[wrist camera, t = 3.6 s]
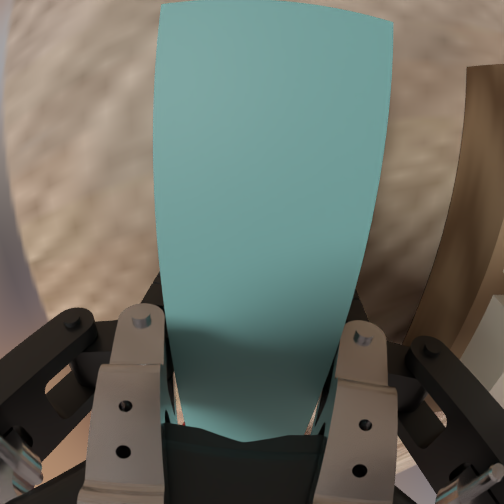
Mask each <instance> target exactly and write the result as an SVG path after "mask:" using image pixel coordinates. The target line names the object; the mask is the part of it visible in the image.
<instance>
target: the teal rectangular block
mask: <svg viewBox="0 0 504 504" xmlns="http://www.w3.org/2000/svg"><path fill="white" fill-rule="evenodd" d="M392 60H393V22H390V21H387V20H384V19H380V18H376V17H373V16H369V15H365V14H360V13H356V12H352V11H347V10H342V9H337V8H331V7H326V6H319V5H313V4H305V3H297V2H287V1H275V0H197V1H185V2H176V3H167V4H161V12H160V20H159V29H158V40H157V51H156V65H155V82H154V109H153V169H154V197H155V216H156V231H157V244H158V255H159V266H160V276H161V285H162V293H163V301H164V309H165V316H166V323H167V330H168V337H169V343H170V349H171V355H172V361H173V367H174V372H175V378H176V383H177V388H178V393H179V398H180V403H181V407H182V412H183V416H184V421H185V425H186V426H190V427H197V428H202V429H204V430H207V431H210V432H213V433H215V434H218V435H221V436H224V437H227V438H230V439H234V440H237V441H240V442H251V441H257V440H264V439H270V438H275V437H281V436H286V435H304V433H305V431H306V429H307V426H308V424H309V422H310V419H311V417H312V414H313V412H314V409H315V407H316V404H317V402H318V399H319V397H320V394H321V392H322V389H323V386H324V384H325V381H326V378H327V376H328V373H329V370H330V367H331V365H332V362H333V359H334V356H335V353H336V350H337V347H338V344H339V341H340V338H341V335H342V332H343V329H344V325H345V322H346V319H347V316H348V312H349V309H350V305H351V302H352V299H353V295H354V291H355V288H356V284H357V280H358V277H359V273H360V269H361V265H362V261H363V257H364V253H365V249H366V244H367V240H368V236H369V231H370V226H371V222H372V217H373V212H374V207H375V202H376V197H377V191H378V186H379V180H380V174H381V168H382V161H383V154H384V147H385V140H386V132H387V123H388V114H389V104H390V92H391V78H392Z"/></svg>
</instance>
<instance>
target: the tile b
mask: <svg viewBox="0 0 504 504" xmlns="http://www.w3.org/2000/svg"><path fill="white" fill-rule="evenodd" d="M460 361H461V362H462V363H463V364H464V365H465V366H466V367H467V368H468V369H469V371H470V372H471V373H472V374H473V375H474V376H475V377H476V378H477V379H478V380H479V382H480V383H481V384H482V385H483V386H484V387H485V388H486V389H487V391H488V392H489V393H490V394H491V395H492V396H493V397H494V399H495V400H496V401H497V402H498V403H499V404H500V406H501V407H502V408H503V409H504V295H493V296H492V299H491V301H490V303H489V305H488V307H487V309H486V312H485V314H484V316H483V318H482V320H481V322H480V324H479V326H478V328H477V330H476V331H475V333H474V335H473V337H472V339H471V341H470V343H469V344H468V346H467V348H466V350H465V351H464V353H463V355H462V357H461V358H460Z"/></svg>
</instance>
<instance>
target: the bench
mask: <svg viewBox="0 0 504 504" xmlns="http://www.w3.org/2000/svg"><path fill="white" fill-rule="evenodd" d="M503 270H504V64H496V65H483V66H472V67H467V87H466V105H465V117H464V127H463V136H462V144H461V151H460V157H459V164H458V169H457V175H456V180H455V185H454V190H453V195H452V199H451V204H450V208H449V212H448V216H447V220H446V224H445V228H444V232H443V235H442V239H441V242H440V246H439V249H438V252H437V255H436V259H435V262H434V265H433V268H432V271H431V274H430V277H429V280H428V282H427V285H426V288H425V291H424V293H423V296H422V299H421V301H420V304H419V306H418V309H417V311H416V314H415V316H414V319H413V321H412V323H411V326H410V328H409V330H408V333H407V335H406V337H405V339H404V342H403V344H402V345H404V346H409V347H410V345H411V343H412V341H413V340H414V339H415V338H416V337H418V336H431V337H434V338H436V339H438V340H440V341H441V342H443V343H444V344H445V345H446V346H447V347H448V348H449V349H450V350H451V351H452V352H453V353H454V355H455V356H456V357H457V358H458V359H459V360H460V358H461V357H462V355H463V353H464V351H465V350H466V348H467V346H468V344H469V343H470V341H471V339H472V337H473V335H474V333H475V331H476V330H477V328H478V326H479V324H480V322H481V320H482V318H483V316H484V314H485V312H486V309H487V307H488V305H489V303H490V301H491V299H492V296H493V295H504V273H503ZM424 400H425V402H426V403H427V404H428V406H429V407H430V408H431V409H432V411H433V412H438V411H442V410H441V409H440V407H439V406H438V405H437V404H436V402H435V401H434V400H433V398H432V397H431V396H430V395H429V394H428V395H427V396H426V398H425V399H424Z"/></svg>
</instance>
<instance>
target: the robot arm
mask: <svg viewBox="0 0 504 504" xmlns="http://www.w3.org/2000/svg"><path fill="white" fill-rule="evenodd" d="M356 292H357V291H356V289H355V291H354V295H353V299H352V302H351V305H350V309H349V312H348V316H347V319H346V322H345V325H344V329H343V332H342V335H341V338H340V341H339V344H338V347H337V350H336V353H335V356H334V359H333V362H332V365H331V367H330V370H329V373H328V376H327V378H326V381H325V384H324V386H323V389H322V392H321V394H320V397H319V401H318V406H317V410H316V414H315V419H314V423H313V427H312V431H311V434H310V435H286V436H281V437H275V438H270V439H264V440H257V441H251V442H240V441H237V440H234V439H230V438H227V437H224V436H221V435H218V434H215V433H213V432H210V431H207V430H204V429H202V428H197V427H190V426H184V425H178V424H177V411H176V395H175V377H174V367H173V361H172V355H171V349H170V343H169V337H168V330H167V323H166V316H165V309H164V301H163V293H162V285H161V276H160V272H159V273H158V275H157V277H156V278H155V280H154V281H153V284H152V285H151V286H150V288H149V290H148V291H147V293H146V295H145V297H144V298H143V300H142V302H141V303H140V304H135V305H132V306H130V307H128V308H126V309H125V310H123V311H122V313H121V314H120V315H119V318H118V320H114V321H100V322H95V320H94V317H93V314H92V313H91V312H90V311H89V310H87V309H85V308H71V309H68V310H65V311H63V312H61V313H60V314H59V315H57V316H56V317H54V318H53V319H52V320H50V321H49V322H48V323H47V324H45V325H44V326H42V327H41V328H40V329H39V330H37V331H36V332H34V333H33V334H32V335H31V336H29V337H28V338H27V339H26V340H24V341H23V342H22V343H20V344H19V345H18V346H16V347H15V348H14V349H13V350H11V351H10V352H9V353H8V354H6V355H5V356H4V357H3V358H2V359H0V504H417V503H416V502H414V501H413V500H412V499H411V498H410V497H408V496H407V495H406V494H405V493H403V492H402V491H401V490H400V489H399V488H398V487H396V486H395V485H394V484H395V472H396V457H397V435H398V436H399V438H400V439H401V441H402V442H403V444H404V445H405V447H406V448H407V450H408V451H409V453H410V455H411V456H412V458H413V459H414V461H415V462H416V464H417V465H418V467H419V468H420V470H421V471H422V473H423V474H424V476H425V477H426V479H427V480H428V482H429V483H430V485H431V486H432V488H433V489H434V491H435V493H436V494H437V497H436V502H435V504H504V409H503V408H502V407H501V406H500V404H499V403H498V402H497V401H496V400H495V399H494V397H493V396H492V395H491V394H490V393H489V392H488V391H487V389H486V388H485V387H484V386H483V385H482V384H481V383H480V382H479V380H478V379H477V378H476V377H475V376H474V375H473V374H472V373H471V372H470V371H469V369H468V368H467V367H466V366H465V365H464V364H463V363H462V362H461V361H460V360H459V359H458V358H457V357H456V356H455V355H454V353H453V352H452V351H451V350H450V349H449V348H448V347H447V346H446V345H445V344H444V343H443V342H441V341H440V340H438V339H436V338H434V337H431V336H418V337H416V338H415V339H414V340H413V341H412V343H411V345H410V347H409V346H404V345H400V344H395V343H392V342H389V341H386V336H385V334H384V332H383V331H382V330H381V329H380V328H379V327H378V326H376V325H375V324H373V323H370V322H369V321H368V318H367V316H366V313H365V311H364V308H363V306H362V303H361V301H360V300H359V296H358V294H357V293H356ZM68 364H69V366H70V368H71V370H72V371H71V372H70V373H69V374H67V375H66V376H65V377H64V378H63V379H62V380H61V381H60V382H59V383H58V384H56V385H55V386H54V387H53V388H52V389H51V390H50V391H49V392H48V393H47V394H45V387H46V384H47V383H48V382H49V381H50V380H51V379H52V378H53V377H54V376H55V375H57V373H59V372H60V371H61V370H62V369H63V368H64V367H65V366H67V365H68ZM428 394H429V395H430V396H431V397H432V398H433V400H434V401H435V402H436V404H437V405H438V406H439V407H440V409H441V410H442V411H443V412H444V414H445V415H446V418H447V426H446V428H445V426H444V425H443V424H442V422H441V421H440V420H439V419H438V417H437V416H436V415H435V413H434V412H433V411H432V409H431V408H430V407H429V406H428V404H427V403H426V402H425V400H424V399H425V398H426V396H427V395H428ZM91 410H92V414H91V421H90V430H89V439H88V447H87V458H86V460H85V461H83V462H82V463H80V464H78V465H76V466H75V467H73V468H71V469H69V470H68V471H66V472H64V473H62V474H61V475H59V476H57V477H55V478H53V479H51V480H49V481H48V482H46V483H44V484H42V485H40V486H38V487H36V488H34V486H35V485H38V484H40V483H41V482H42V481H43V474H42V472H41V469H42V466H41V462H42V461H43V460H44V459H45V458H46V457H47V456H48V455H49V454H50V453H51V452H52V450H54V449H55V448H56V447H57V446H58V444H59V443H60V442H61V441H62V440H63V439H64V438H65V437H66V436H67V435H68V434H69V433H70V432H71V431H72V429H74V428H75V427H76V426H77V424H78V423H79V422H80V421H81V420H82V419H83V418H84V417H85V416H86V415H87V414H88V413H89V412H90V411H91Z"/></svg>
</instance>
